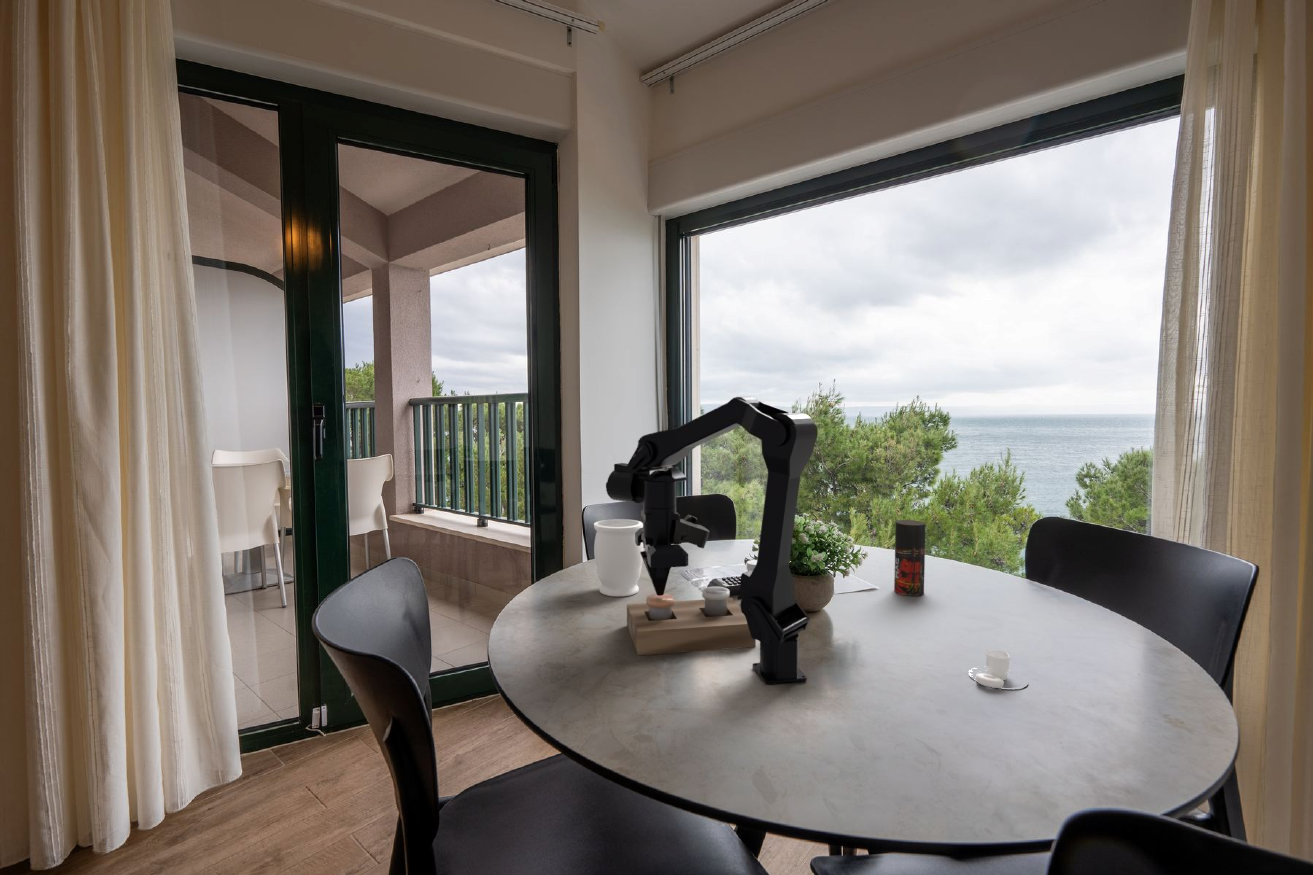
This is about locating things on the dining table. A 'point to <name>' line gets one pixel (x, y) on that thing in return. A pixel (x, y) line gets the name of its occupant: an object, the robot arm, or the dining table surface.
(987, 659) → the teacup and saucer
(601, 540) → the jar
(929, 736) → the dining table surface
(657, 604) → the plug
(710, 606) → the plug
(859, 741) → the dining table surface
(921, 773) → the dining table surface
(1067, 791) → the dining table surface
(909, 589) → the deodorant
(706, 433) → the robot arm
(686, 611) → the wooden socket block
